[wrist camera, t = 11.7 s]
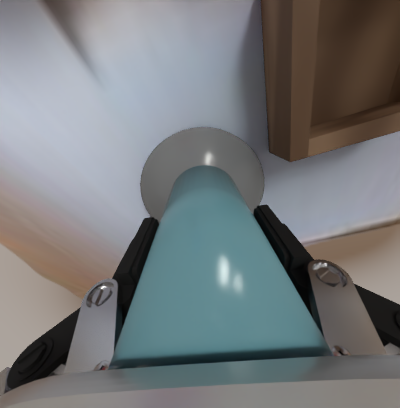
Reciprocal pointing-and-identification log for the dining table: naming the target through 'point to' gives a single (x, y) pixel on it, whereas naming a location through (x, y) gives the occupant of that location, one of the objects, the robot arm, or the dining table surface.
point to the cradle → (330, 73)
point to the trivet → (195, 156)
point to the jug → (213, 286)
